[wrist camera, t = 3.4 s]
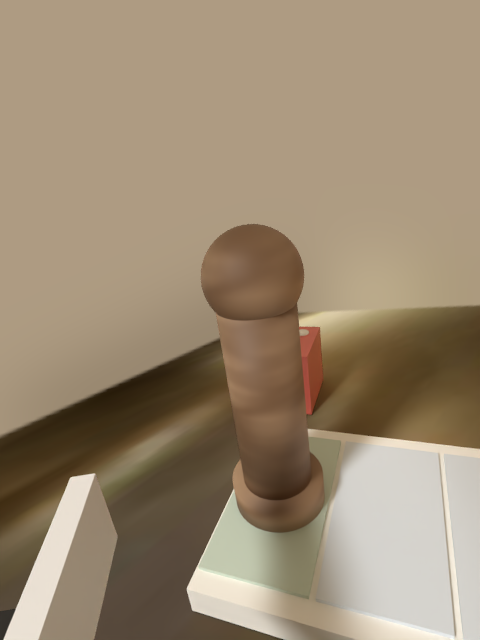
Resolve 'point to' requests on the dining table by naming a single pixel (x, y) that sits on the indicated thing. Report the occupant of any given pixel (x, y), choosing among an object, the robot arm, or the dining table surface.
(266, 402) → the pawn
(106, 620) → the dining table surface
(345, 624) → the board
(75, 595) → the robot arm
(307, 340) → the die
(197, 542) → the dining table surface
